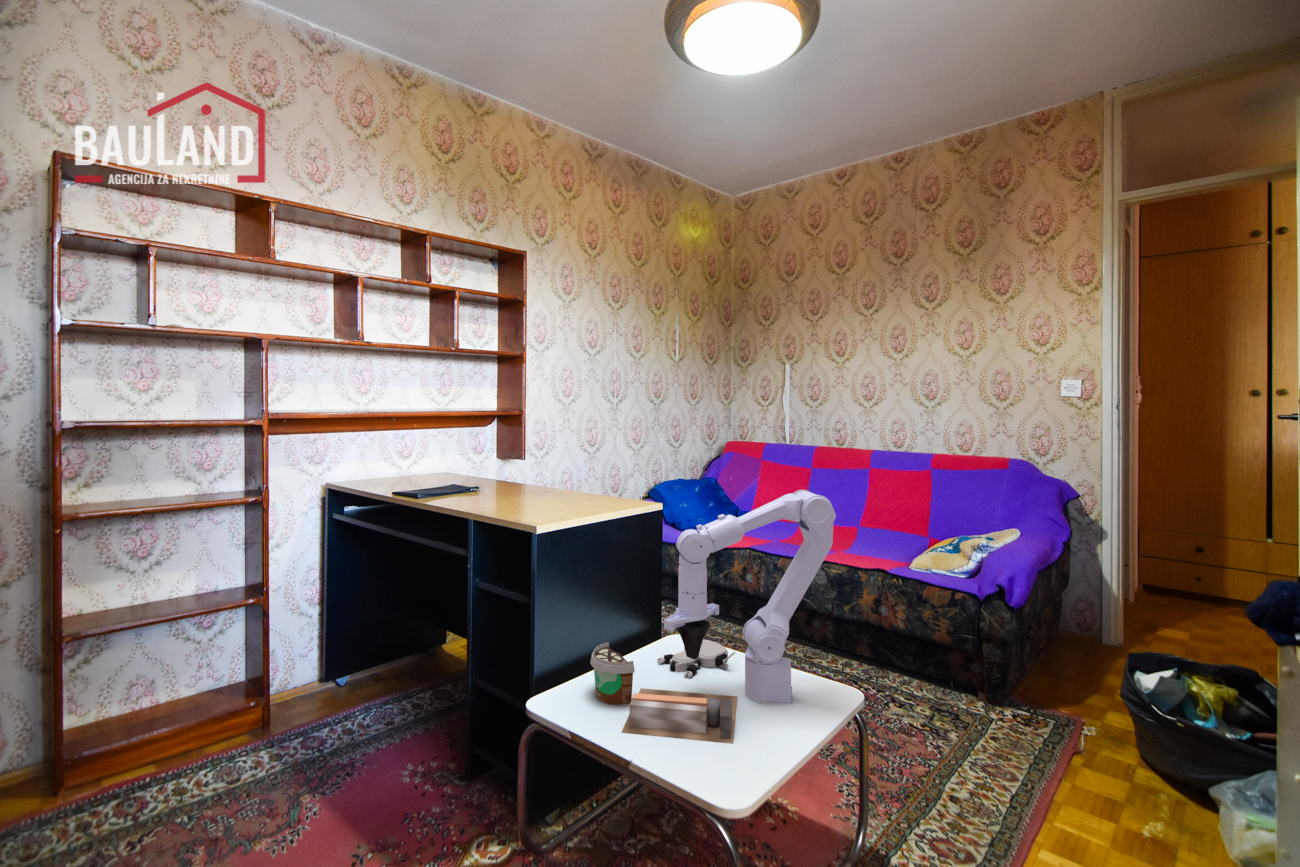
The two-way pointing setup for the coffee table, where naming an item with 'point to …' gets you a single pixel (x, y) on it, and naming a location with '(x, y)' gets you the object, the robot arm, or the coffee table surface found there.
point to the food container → (612, 676)
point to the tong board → (686, 735)
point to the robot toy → (708, 657)
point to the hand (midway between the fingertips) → (692, 657)
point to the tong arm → (711, 704)
